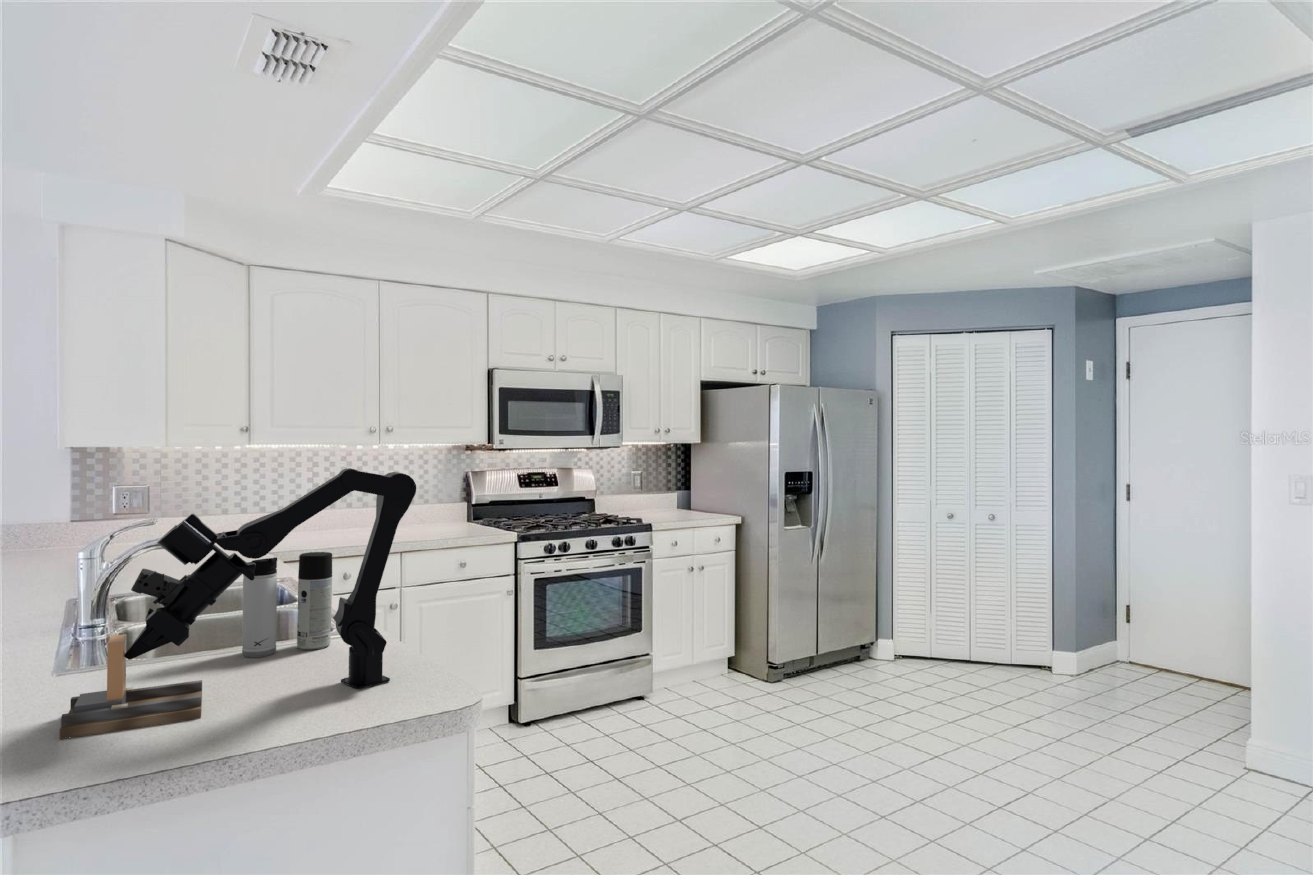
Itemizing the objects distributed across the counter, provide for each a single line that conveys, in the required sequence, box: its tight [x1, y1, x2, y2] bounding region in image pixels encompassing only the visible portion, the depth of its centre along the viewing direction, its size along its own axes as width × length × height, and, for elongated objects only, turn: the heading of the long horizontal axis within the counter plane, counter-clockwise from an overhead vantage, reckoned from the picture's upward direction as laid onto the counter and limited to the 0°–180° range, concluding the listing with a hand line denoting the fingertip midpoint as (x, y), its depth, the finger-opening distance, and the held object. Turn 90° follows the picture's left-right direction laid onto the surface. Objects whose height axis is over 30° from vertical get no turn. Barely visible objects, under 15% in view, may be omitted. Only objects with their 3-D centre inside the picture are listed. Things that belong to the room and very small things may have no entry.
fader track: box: [59, 679, 203, 740], centre depth 122 cm, size 18×12×3 cm, turn 120°
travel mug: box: [241, 556, 278, 659], centre depth 157 cm, size 6×7×20 cm
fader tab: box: [74, 633, 127, 712], centre depth 119 cm, size 6×6×11 cm
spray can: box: [296, 551, 333, 651], centre depth 162 cm, size 7×7×20 cm
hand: (126, 657), depth 121 cm, fingers closed, pressing on fader tab
